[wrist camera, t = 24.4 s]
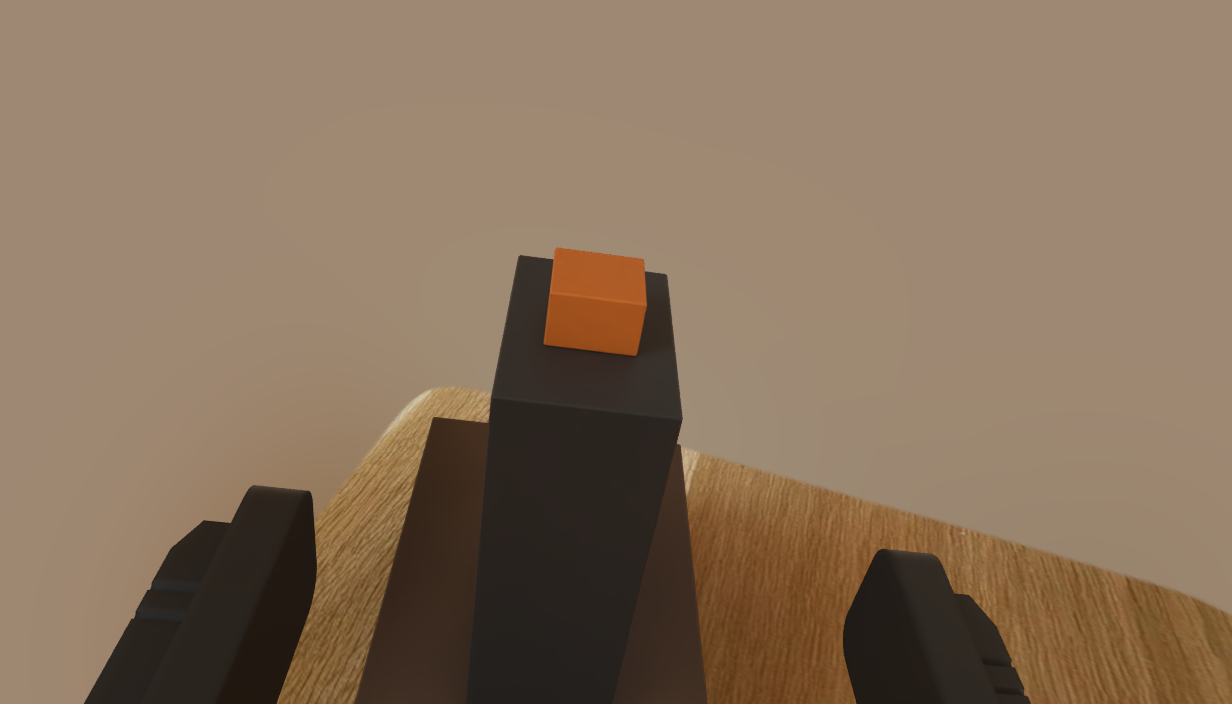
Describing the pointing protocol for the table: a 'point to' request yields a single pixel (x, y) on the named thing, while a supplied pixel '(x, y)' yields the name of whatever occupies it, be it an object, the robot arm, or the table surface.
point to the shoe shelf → (445, 584)
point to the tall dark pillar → (572, 477)
